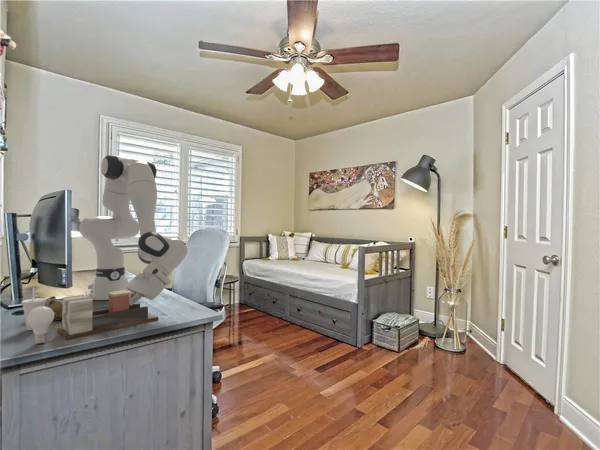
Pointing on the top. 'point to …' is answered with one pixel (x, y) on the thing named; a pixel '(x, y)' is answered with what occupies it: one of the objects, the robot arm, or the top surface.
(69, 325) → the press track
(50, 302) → the ceramic sculpture
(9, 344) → the top surface
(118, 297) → the plunger
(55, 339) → the top surface
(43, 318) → the lightbulb
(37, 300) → the smoothie
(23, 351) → the top surface
